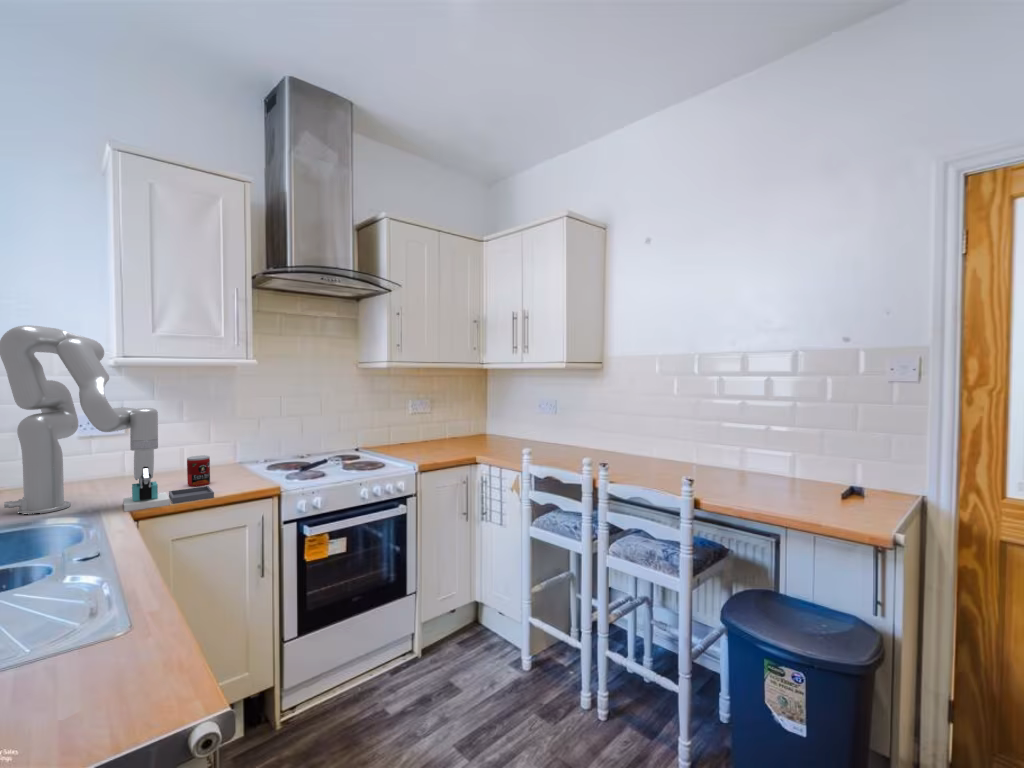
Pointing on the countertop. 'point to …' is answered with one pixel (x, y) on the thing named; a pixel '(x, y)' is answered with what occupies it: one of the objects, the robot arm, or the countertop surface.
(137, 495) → the teal notched block
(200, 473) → the canned food
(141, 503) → the stake block
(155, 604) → the countertop surface
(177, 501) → the tray
